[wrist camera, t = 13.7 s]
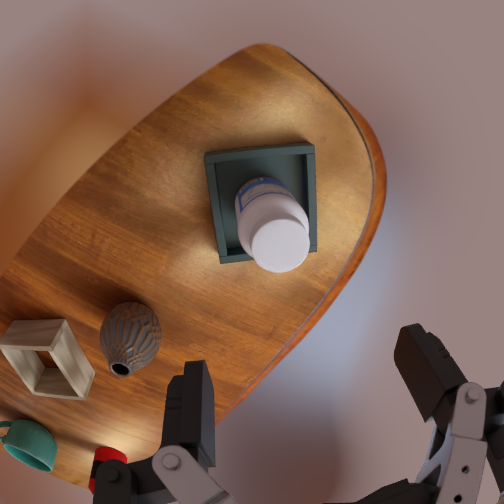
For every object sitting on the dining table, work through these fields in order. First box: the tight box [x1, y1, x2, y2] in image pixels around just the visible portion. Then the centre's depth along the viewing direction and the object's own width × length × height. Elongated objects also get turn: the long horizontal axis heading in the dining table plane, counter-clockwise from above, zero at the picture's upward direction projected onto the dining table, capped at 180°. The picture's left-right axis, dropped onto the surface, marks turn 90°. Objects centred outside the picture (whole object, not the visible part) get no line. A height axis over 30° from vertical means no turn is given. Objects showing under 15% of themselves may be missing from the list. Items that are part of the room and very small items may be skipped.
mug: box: [0, 419, 57, 472], centre depth 43 cm, size 17×13×10 cm
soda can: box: [88, 447, 127, 495], centre depth 47 cm, size 8×8×12 cm
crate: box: [0, 319, 95, 400], centre depth 34 cm, size 11×11×6 cm
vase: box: [100, 302, 161, 377], centre depth 30 cm, size 7×7×9 cm
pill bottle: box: [235, 177, 310, 273], centre depth 25 cm, size 6×5×10 cm
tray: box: [204, 142, 317, 264], centre depth 28 cm, size 11×10×2 cm
